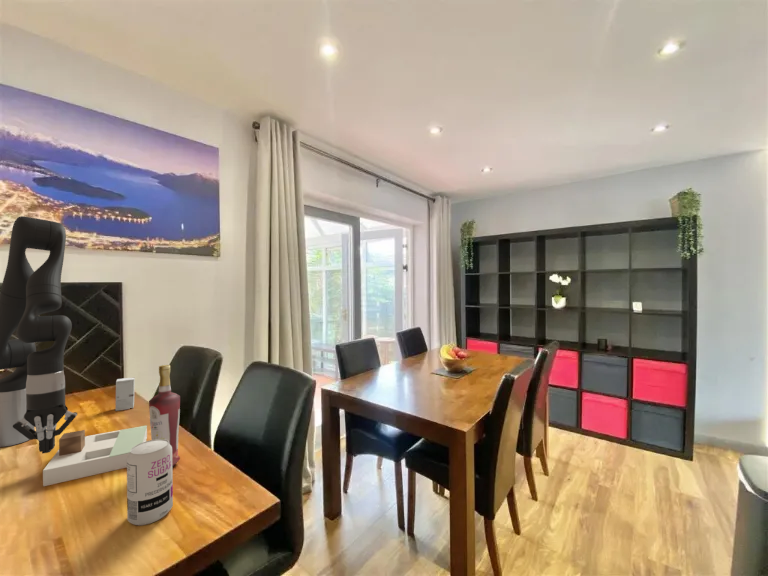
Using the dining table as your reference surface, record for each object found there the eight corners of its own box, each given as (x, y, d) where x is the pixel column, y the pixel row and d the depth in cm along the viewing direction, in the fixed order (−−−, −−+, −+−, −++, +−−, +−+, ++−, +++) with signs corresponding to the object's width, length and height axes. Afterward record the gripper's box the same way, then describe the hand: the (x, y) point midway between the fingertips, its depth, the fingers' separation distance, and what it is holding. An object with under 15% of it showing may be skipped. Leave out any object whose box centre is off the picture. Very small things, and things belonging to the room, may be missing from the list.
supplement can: (142, 503, 77) (142, 438, 77) (180, 501, 78) (179, 437, 78) (117, 528, 69) (117, 456, 69) (159, 526, 70) (159, 454, 70)
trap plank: (43, 486, 84) (42, 470, 84) (66, 452, 101) (66, 439, 101) (140, 464, 95) (140, 450, 95) (146, 437, 112) (146, 425, 112)
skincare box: (115, 411, 135) (114, 381, 135) (116, 408, 139) (116, 379, 139) (134, 408, 139) (133, 379, 139) (135, 405, 143) (134, 376, 143)
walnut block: (59, 456, 92) (59, 439, 92) (64, 449, 95) (63, 433, 95) (81, 451, 94) (80, 435, 94) (84, 445, 98) (84, 429, 98)
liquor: (186, 461, 96) (186, 364, 96) (162, 475, 89) (161, 370, 89) (168, 457, 98) (167, 362, 98) (143, 470, 91) (142, 368, 91)
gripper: (81, 381, 98) (82, 440, 98) (17, 389, 92) (18, 452, 92) (74, 388, 92) (75, 451, 92) (5, 396, 85) (6, 464, 85)
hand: (46, 451), depth 92 cm, fingers closed
